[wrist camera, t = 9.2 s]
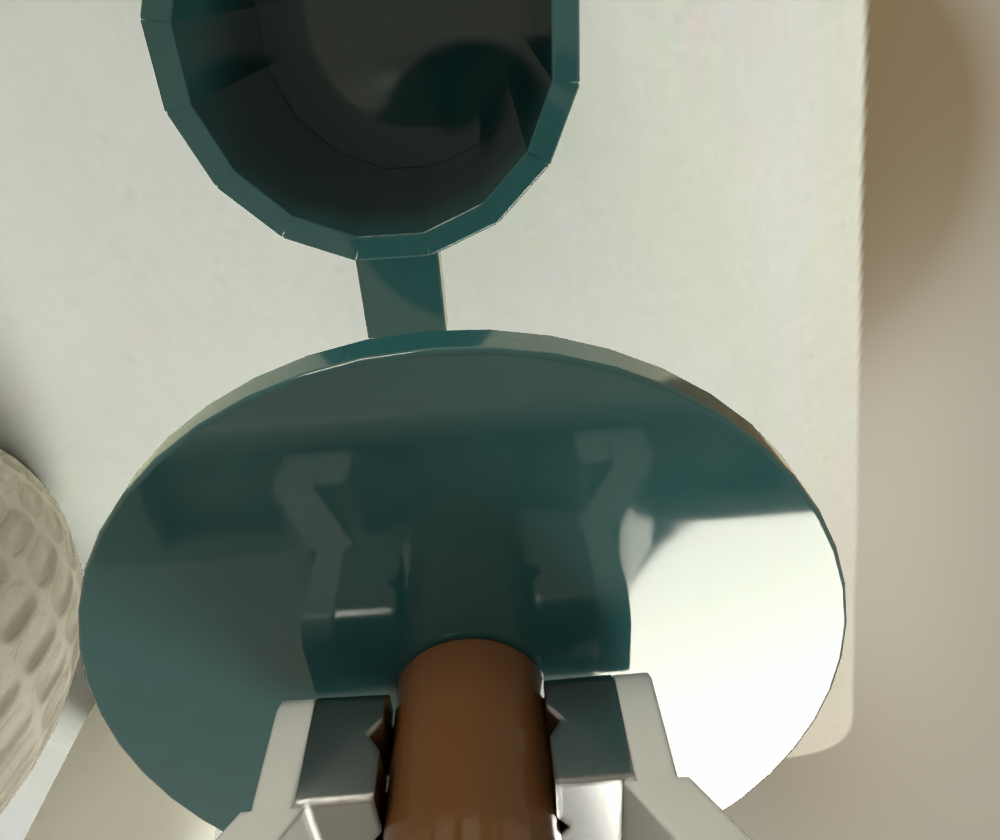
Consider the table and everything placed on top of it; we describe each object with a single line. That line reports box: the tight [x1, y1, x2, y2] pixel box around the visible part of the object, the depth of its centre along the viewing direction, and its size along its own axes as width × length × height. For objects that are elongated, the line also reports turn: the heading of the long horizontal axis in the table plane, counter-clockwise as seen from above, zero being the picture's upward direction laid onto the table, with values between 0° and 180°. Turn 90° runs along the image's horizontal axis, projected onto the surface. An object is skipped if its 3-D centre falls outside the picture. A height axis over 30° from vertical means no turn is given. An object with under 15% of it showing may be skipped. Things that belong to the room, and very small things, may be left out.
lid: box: [78, 330, 846, 840], centre depth 10 cm, size 11×11×5 cm
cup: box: [24, 703, 216, 840], centre depth 40 cm, size 8×12×10 cm
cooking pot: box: [141, 0, 580, 339], centre depth 22 cm, size 10×16×8 cm, turn 3°
